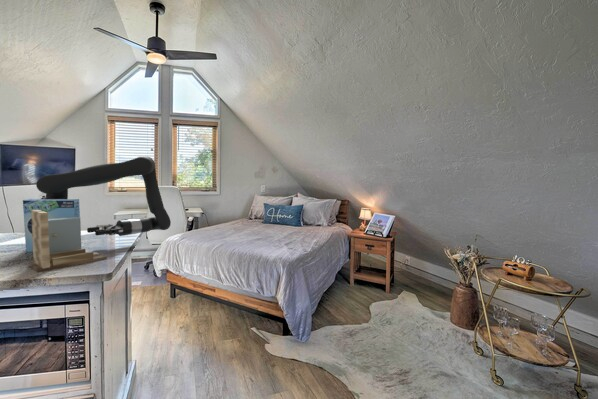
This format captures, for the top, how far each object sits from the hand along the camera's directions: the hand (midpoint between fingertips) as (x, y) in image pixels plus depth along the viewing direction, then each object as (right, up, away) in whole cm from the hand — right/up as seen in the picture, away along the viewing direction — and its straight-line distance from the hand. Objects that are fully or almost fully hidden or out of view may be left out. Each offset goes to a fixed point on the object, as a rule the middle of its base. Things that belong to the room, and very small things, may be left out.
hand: (91, 231), depth 134 cm
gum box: (-17, -9, +1) cm, 19 cm away
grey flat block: (-7, -10, -8) cm, 14 cm away
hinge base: (+2, -10, -15) cm, 18 cm away
